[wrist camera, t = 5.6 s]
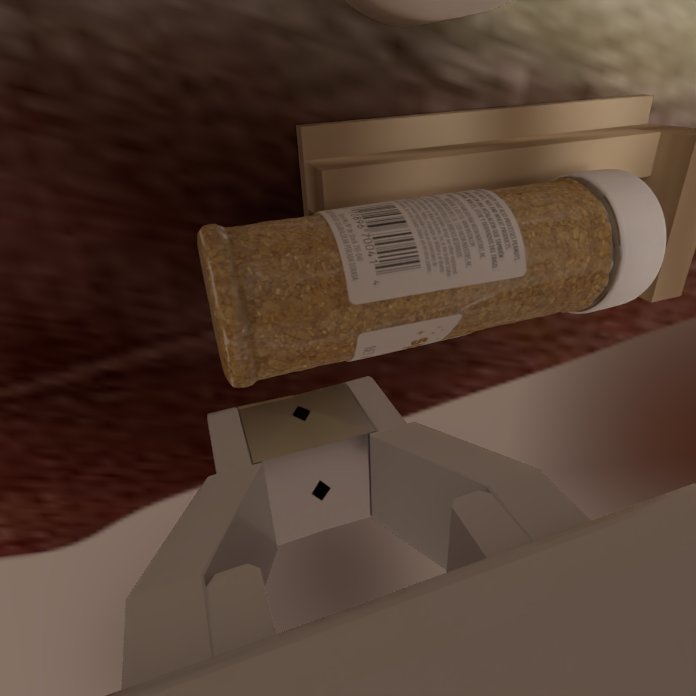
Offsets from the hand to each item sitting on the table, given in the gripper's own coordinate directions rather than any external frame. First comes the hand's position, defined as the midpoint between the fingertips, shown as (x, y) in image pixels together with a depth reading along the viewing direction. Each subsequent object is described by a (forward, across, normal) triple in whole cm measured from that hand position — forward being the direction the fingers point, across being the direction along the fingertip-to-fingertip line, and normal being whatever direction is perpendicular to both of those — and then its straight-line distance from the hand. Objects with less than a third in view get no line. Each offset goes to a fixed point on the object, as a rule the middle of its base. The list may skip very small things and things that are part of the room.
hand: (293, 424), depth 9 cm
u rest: (+10, -10, 0) cm, 14 cm away
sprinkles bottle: (+6, +1, 0) cm, 6 cm away
